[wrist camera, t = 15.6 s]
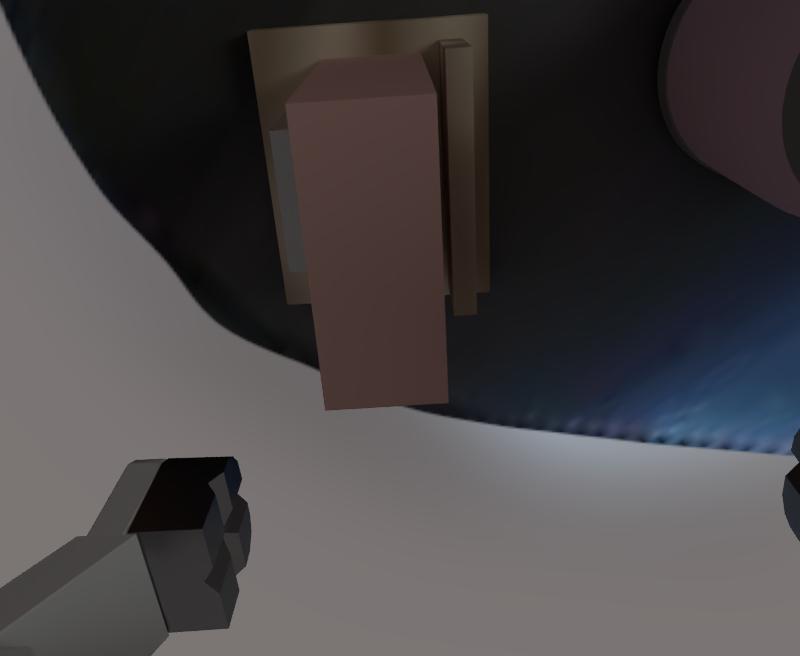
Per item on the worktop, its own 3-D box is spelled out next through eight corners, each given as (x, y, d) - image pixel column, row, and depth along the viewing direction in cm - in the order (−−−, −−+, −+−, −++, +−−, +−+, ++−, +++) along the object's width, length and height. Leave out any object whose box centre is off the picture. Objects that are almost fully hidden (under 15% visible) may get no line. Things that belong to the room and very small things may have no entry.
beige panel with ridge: (484, 13, 36) (502, 20, 31) (487, 282, 43) (502, 330, 37) (252, 29, 37) (225, 39, 31) (290, 294, 43) (275, 344, 37)
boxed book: (421, 52, 36) (438, 93, 23) (431, 272, 41) (450, 403, 29) (321, 59, 36) (283, 104, 23) (344, 278, 41) (323, 410, 29)
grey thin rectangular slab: (306, 110, 37) (295, 129, 32) (321, 237, 40) (313, 270, 36) (283, 112, 37) (269, 130, 32) (300, 239, 40) (289, 272, 36)
